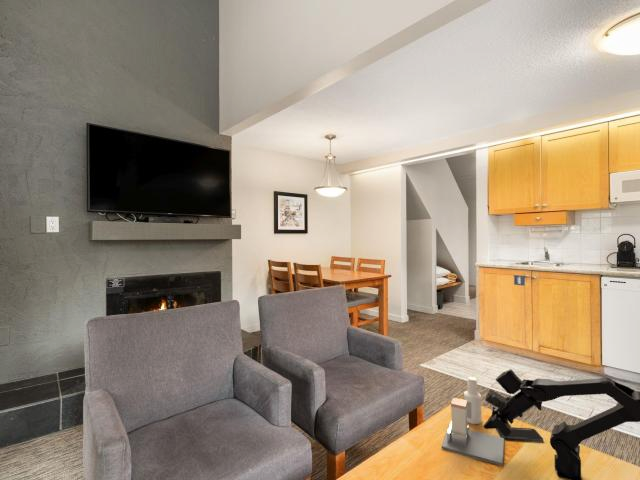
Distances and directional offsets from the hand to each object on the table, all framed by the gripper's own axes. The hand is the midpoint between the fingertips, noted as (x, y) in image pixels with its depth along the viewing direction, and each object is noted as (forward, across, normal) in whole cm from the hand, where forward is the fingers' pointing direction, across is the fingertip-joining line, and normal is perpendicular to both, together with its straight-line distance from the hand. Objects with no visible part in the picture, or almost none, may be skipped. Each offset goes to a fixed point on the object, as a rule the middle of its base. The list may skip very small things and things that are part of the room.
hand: (484, 427), depth 126 cm
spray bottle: (+10, -18, +1) cm, 21 cm away
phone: (-2, -15, +14) cm, 21 cm away
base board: (+8, 0, +3) cm, 9 cm away
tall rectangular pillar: (+11, 0, -2) cm, 11 cm away
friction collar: (+11, 0, -2) cm, 11 cm away
